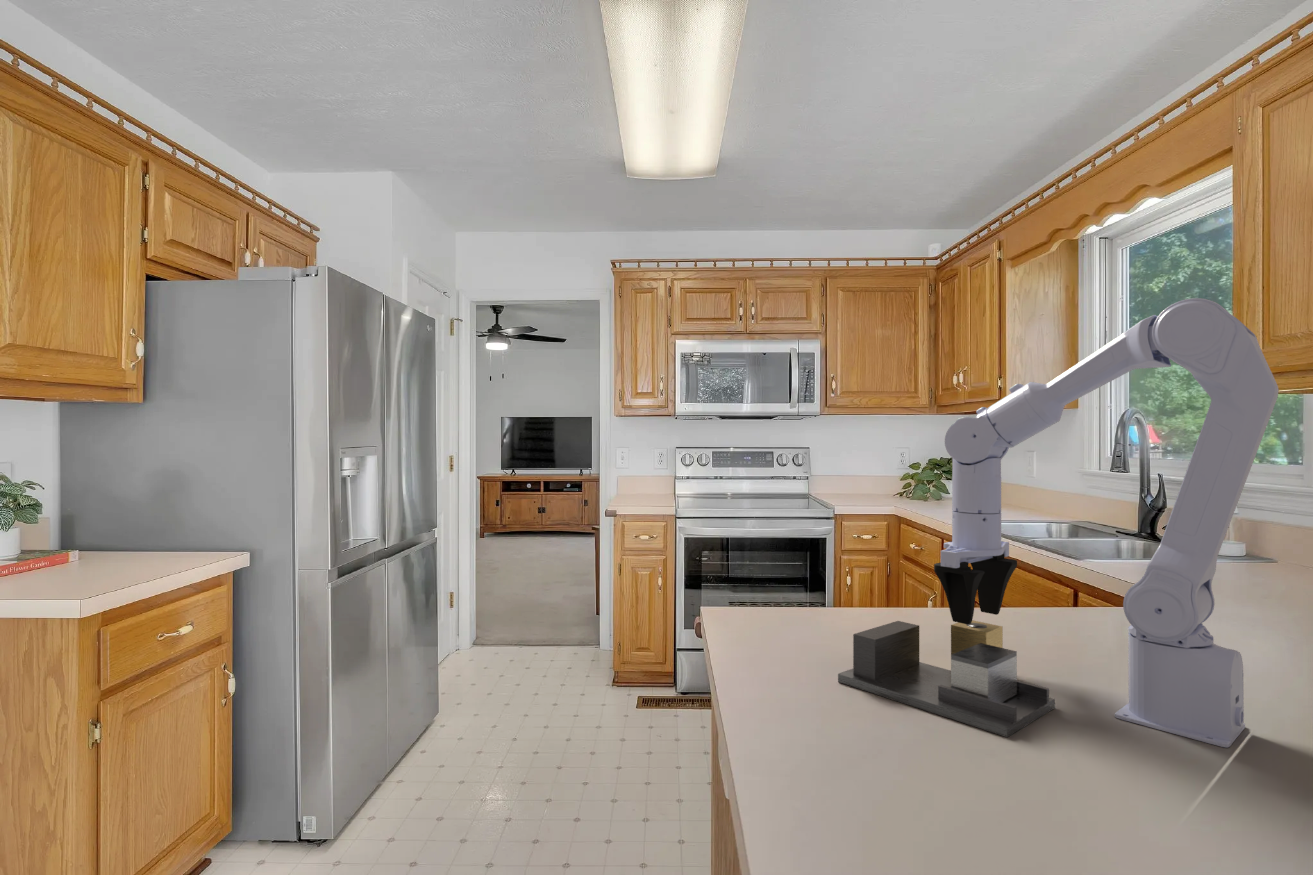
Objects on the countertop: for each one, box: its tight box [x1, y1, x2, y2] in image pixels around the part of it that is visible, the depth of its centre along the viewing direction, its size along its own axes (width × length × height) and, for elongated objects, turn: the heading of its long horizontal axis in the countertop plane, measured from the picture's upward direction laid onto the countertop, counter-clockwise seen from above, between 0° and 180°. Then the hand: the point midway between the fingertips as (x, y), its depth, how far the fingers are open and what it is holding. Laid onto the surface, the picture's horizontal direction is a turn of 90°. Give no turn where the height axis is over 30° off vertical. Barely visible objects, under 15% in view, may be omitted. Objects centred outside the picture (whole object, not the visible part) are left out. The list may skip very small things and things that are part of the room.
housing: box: [950, 619, 1004, 656], centre depth 86 cm, size 4×4×6 cm
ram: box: [950, 643, 1018, 702], centre depth 74 cm, size 4×7×5 cm, turn 129°
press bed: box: [837, 620, 1056, 738], centre depth 78 cm, size 20×12×6 cm, turn 39°
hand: (976, 617), depth 86 cm, fingers open, 7 cm apart
